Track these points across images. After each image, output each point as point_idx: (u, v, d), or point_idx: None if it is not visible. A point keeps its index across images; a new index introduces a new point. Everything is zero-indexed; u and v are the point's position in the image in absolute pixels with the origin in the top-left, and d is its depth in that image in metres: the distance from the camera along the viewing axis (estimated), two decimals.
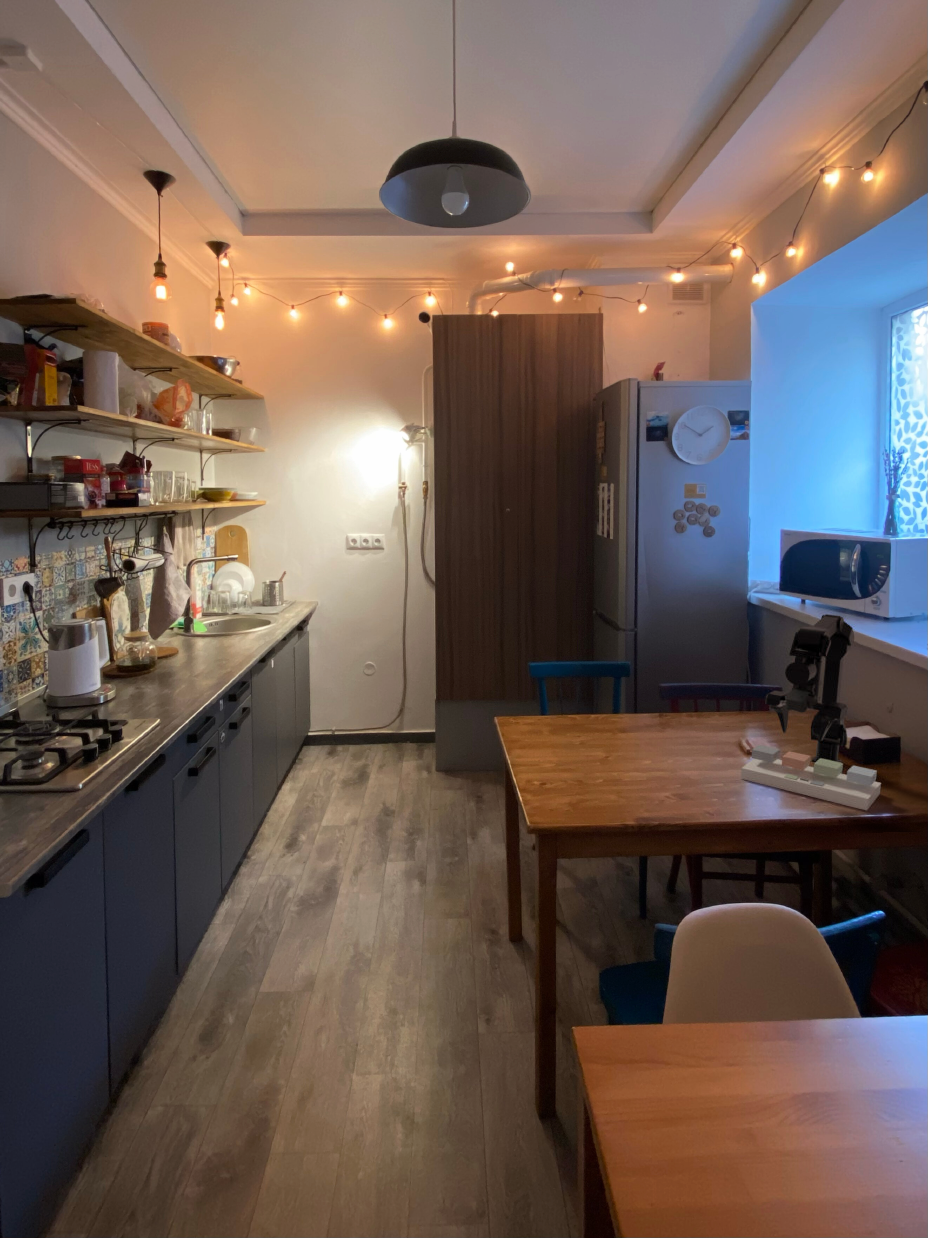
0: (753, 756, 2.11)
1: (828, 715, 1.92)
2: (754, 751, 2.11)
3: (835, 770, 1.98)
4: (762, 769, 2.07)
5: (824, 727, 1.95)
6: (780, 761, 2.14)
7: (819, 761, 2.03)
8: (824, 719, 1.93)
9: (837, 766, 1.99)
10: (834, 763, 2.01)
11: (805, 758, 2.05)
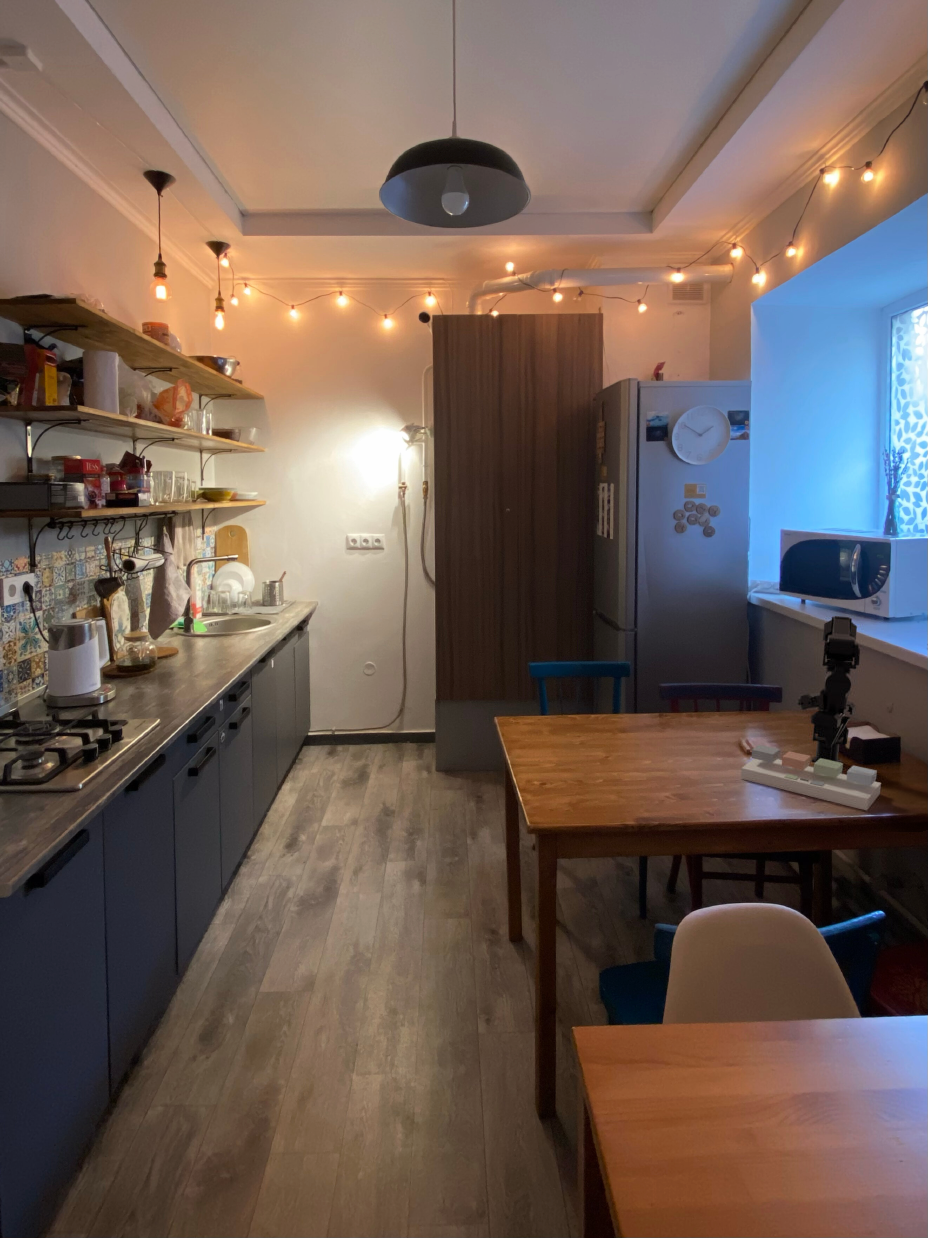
0: (753, 756, 2.11)
1: None
2: (754, 751, 2.11)
3: (835, 770, 1.98)
4: (762, 769, 2.07)
5: None
6: (780, 761, 2.14)
7: (819, 761, 2.03)
8: None
9: (837, 766, 1.99)
10: (834, 763, 2.01)
11: (805, 758, 2.05)
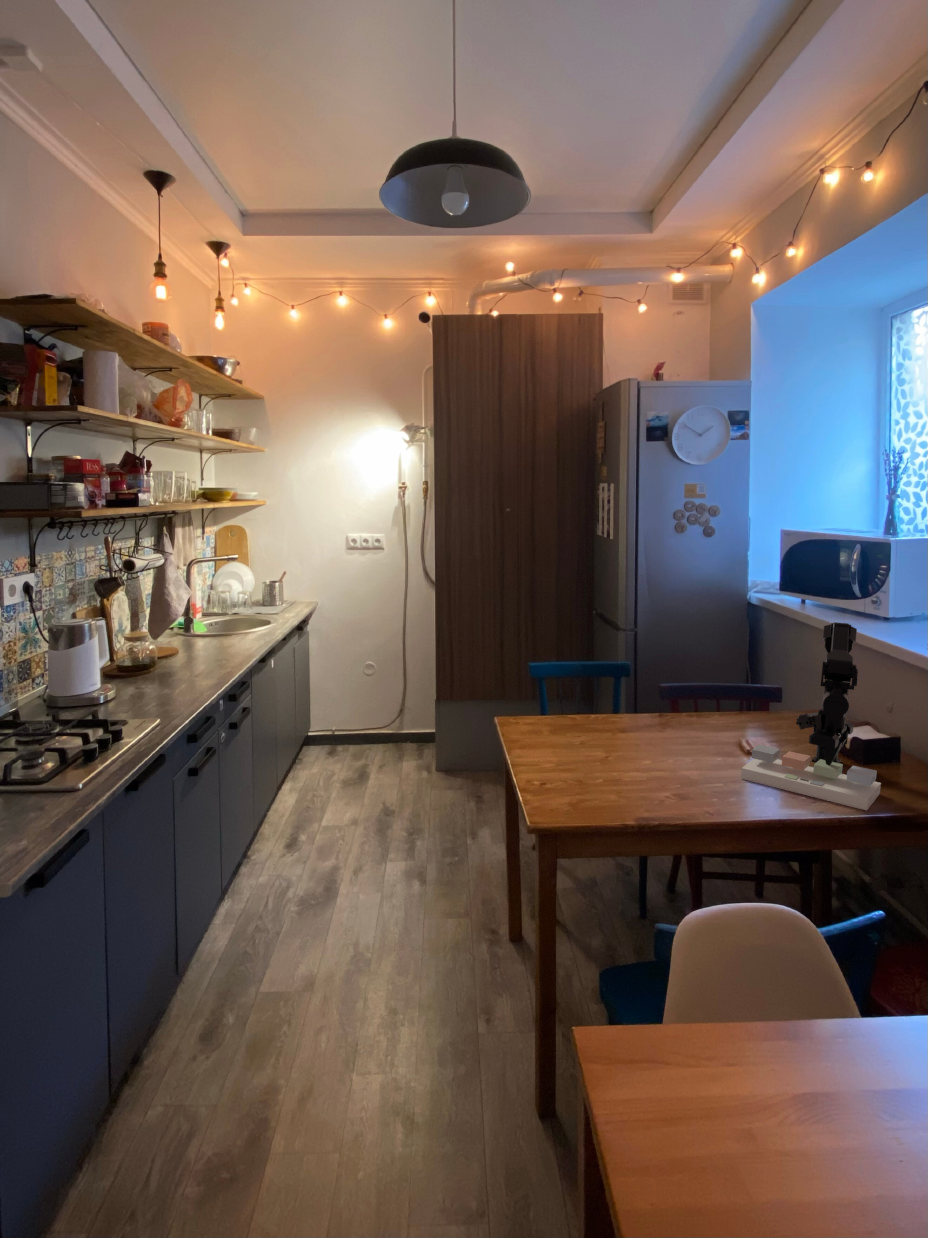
0: (753, 756, 2.11)
1: None
2: (754, 751, 2.11)
3: (835, 771, 1.98)
4: (762, 769, 2.07)
5: None
6: (780, 761, 2.14)
7: (819, 762, 2.03)
8: None
9: (837, 767, 1.99)
10: (834, 764, 2.01)
11: (805, 758, 2.05)
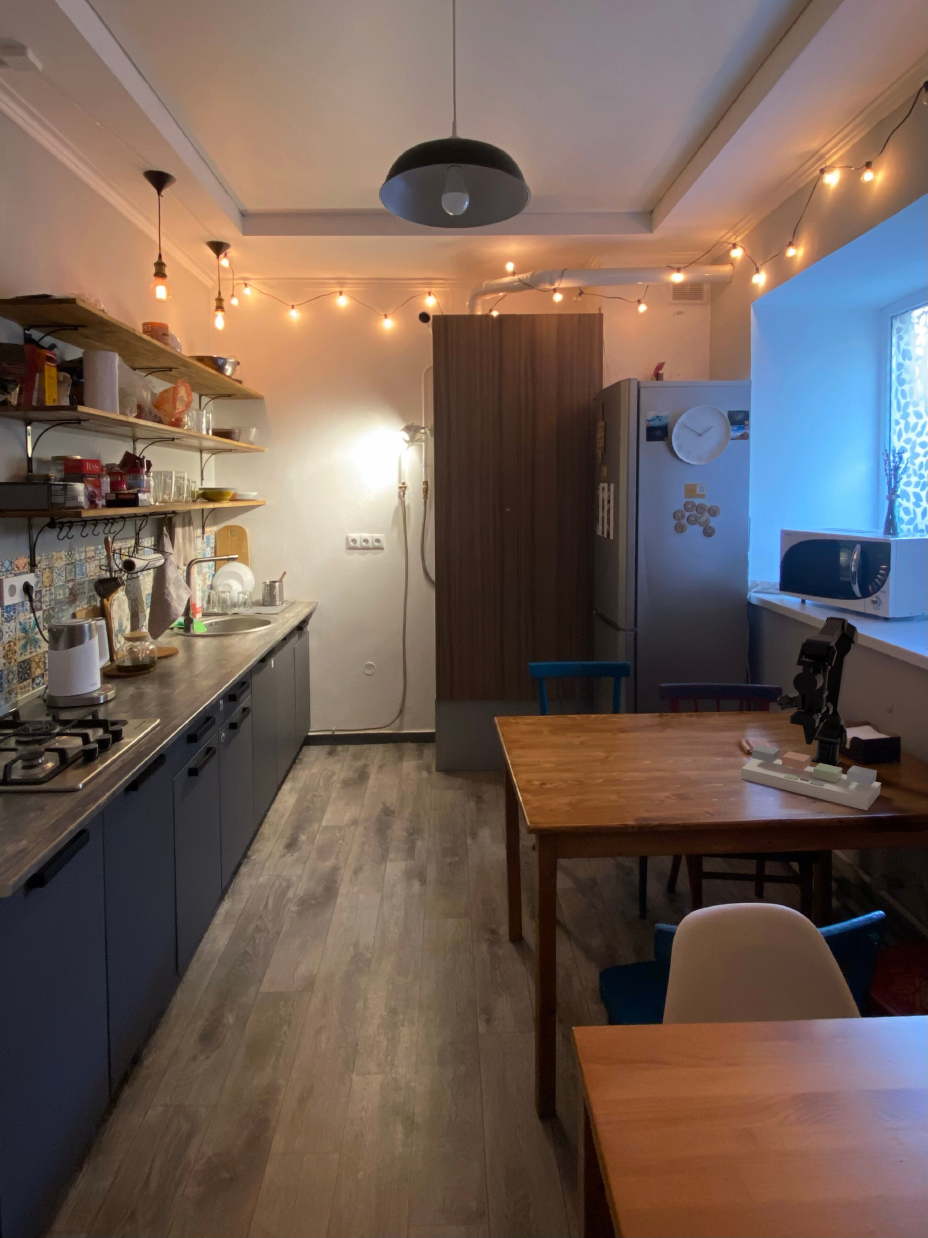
0: (753, 756, 2.11)
1: None
2: (754, 751, 2.11)
3: (834, 775, 1.98)
4: (762, 769, 2.07)
5: None
6: (780, 761, 2.14)
7: (819, 766, 2.03)
8: None
9: (836, 771, 1.99)
10: (833, 768, 2.02)
11: (805, 758, 2.05)
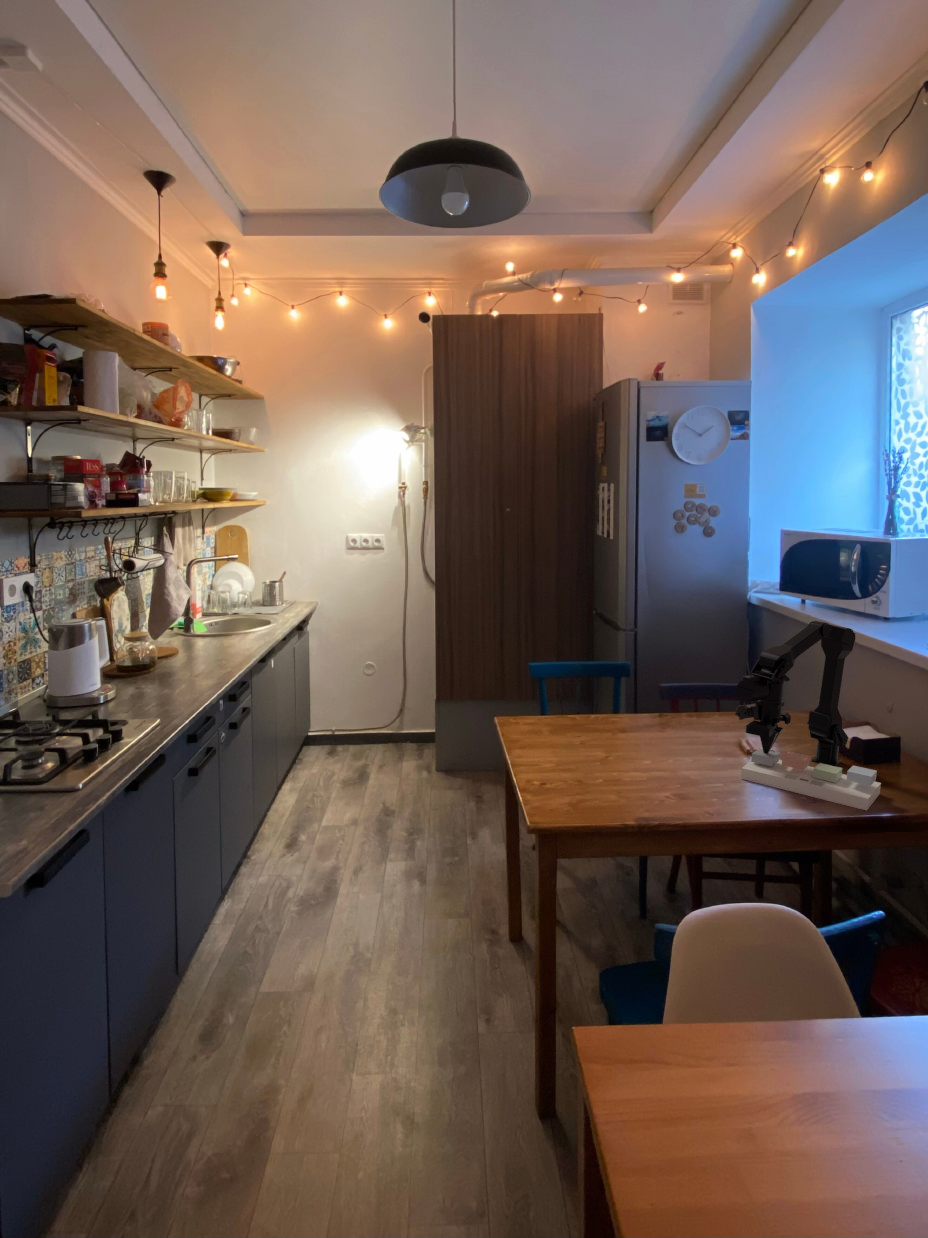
0: (753, 760, 2.11)
1: None
2: (754, 755, 2.11)
3: (834, 775, 1.98)
4: (762, 769, 2.07)
5: None
6: (780, 761, 2.14)
7: (819, 766, 2.03)
8: None
9: (836, 771, 1.99)
10: (833, 768, 2.02)
11: (805, 758, 2.05)
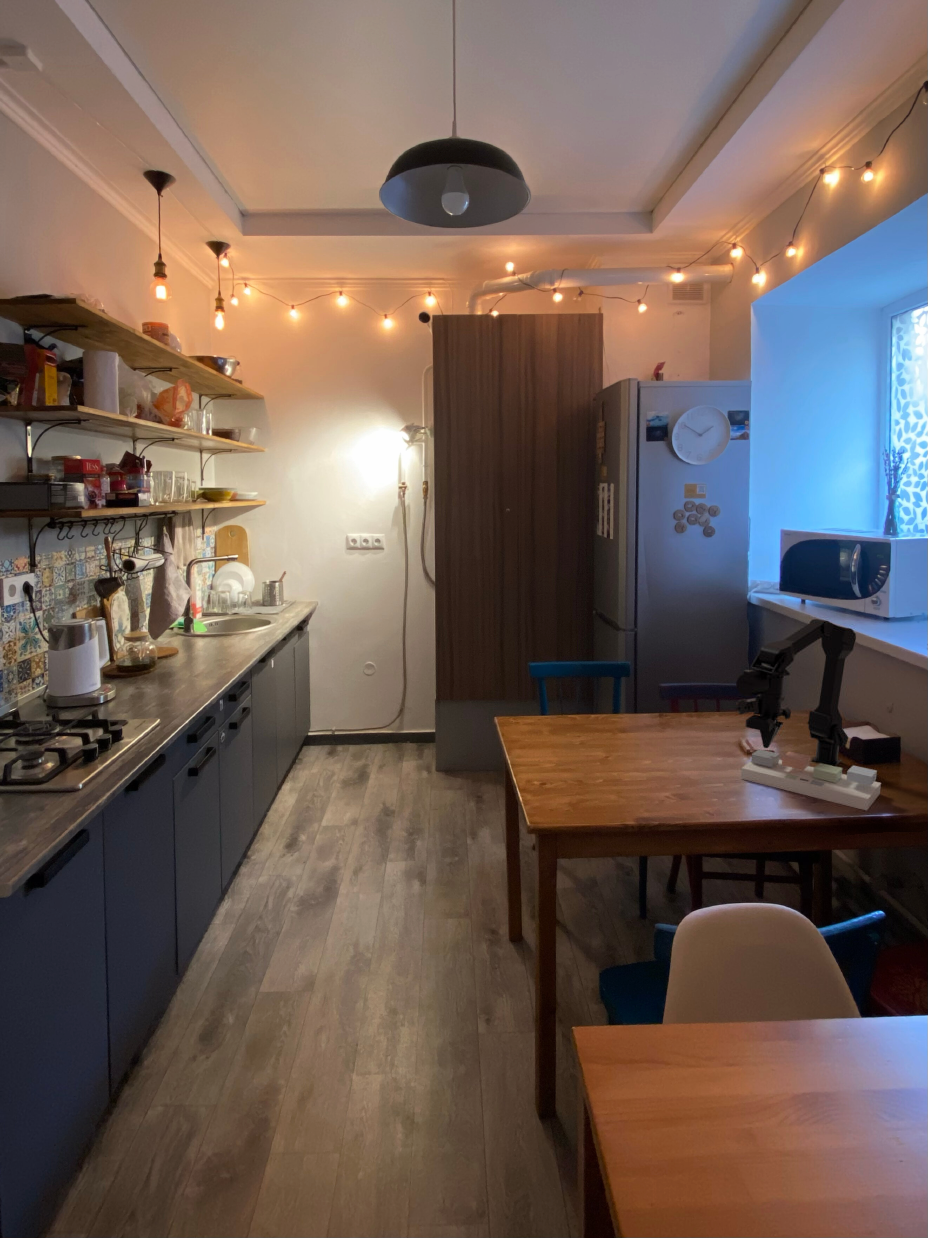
0: (753, 761, 2.11)
1: None
2: (754, 756, 2.11)
3: (834, 775, 1.98)
4: (762, 769, 2.07)
5: None
6: (780, 761, 2.14)
7: (819, 766, 2.03)
8: None
9: (836, 771, 1.99)
10: (833, 768, 2.02)
11: (805, 758, 2.05)
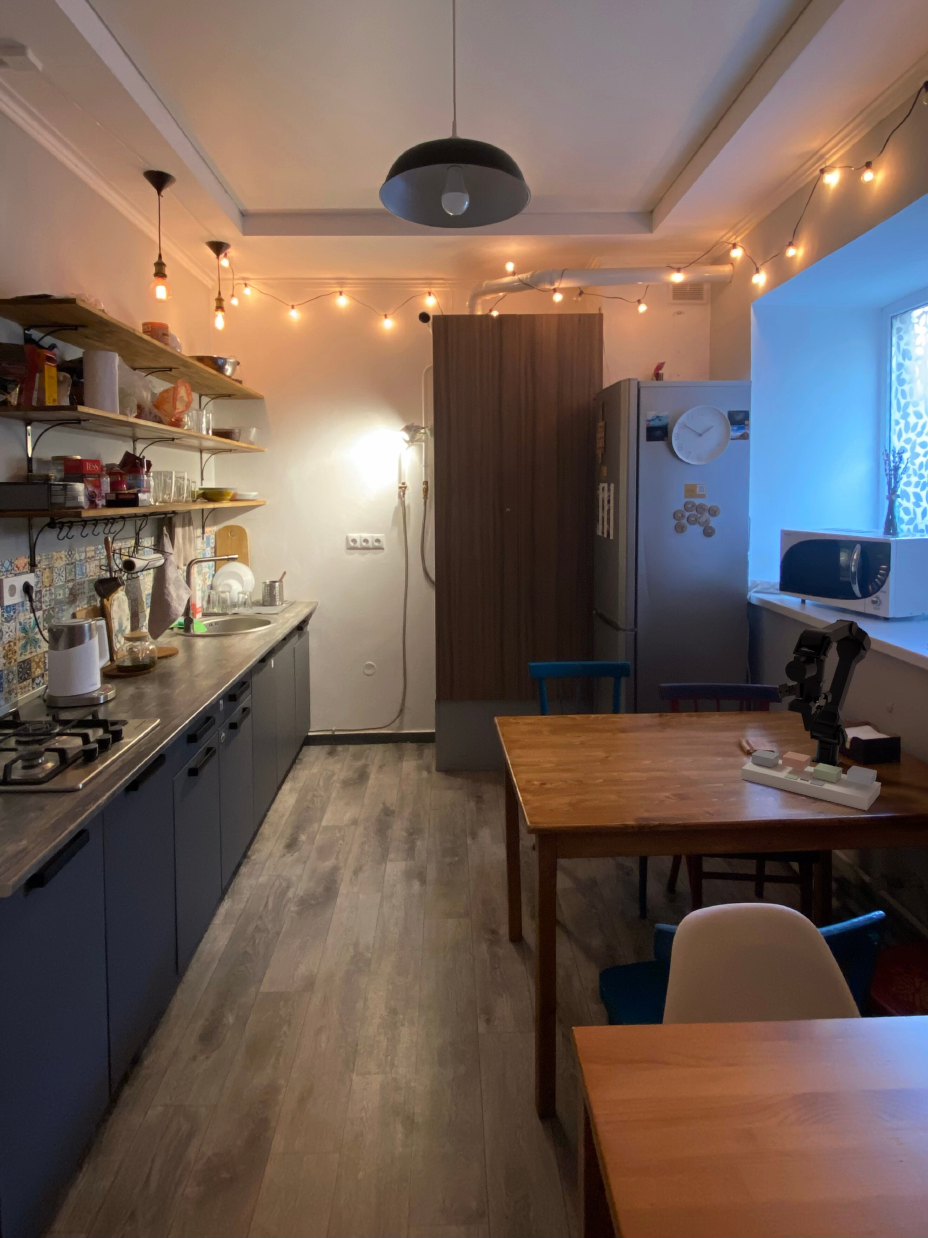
0: (753, 761, 2.11)
1: None
2: (754, 756, 2.11)
3: (834, 775, 1.98)
4: (762, 769, 2.07)
5: None
6: (780, 761, 2.14)
7: (819, 766, 2.03)
8: None
9: (836, 771, 1.99)
10: (833, 768, 2.02)
11: (805, 758, 2.05)
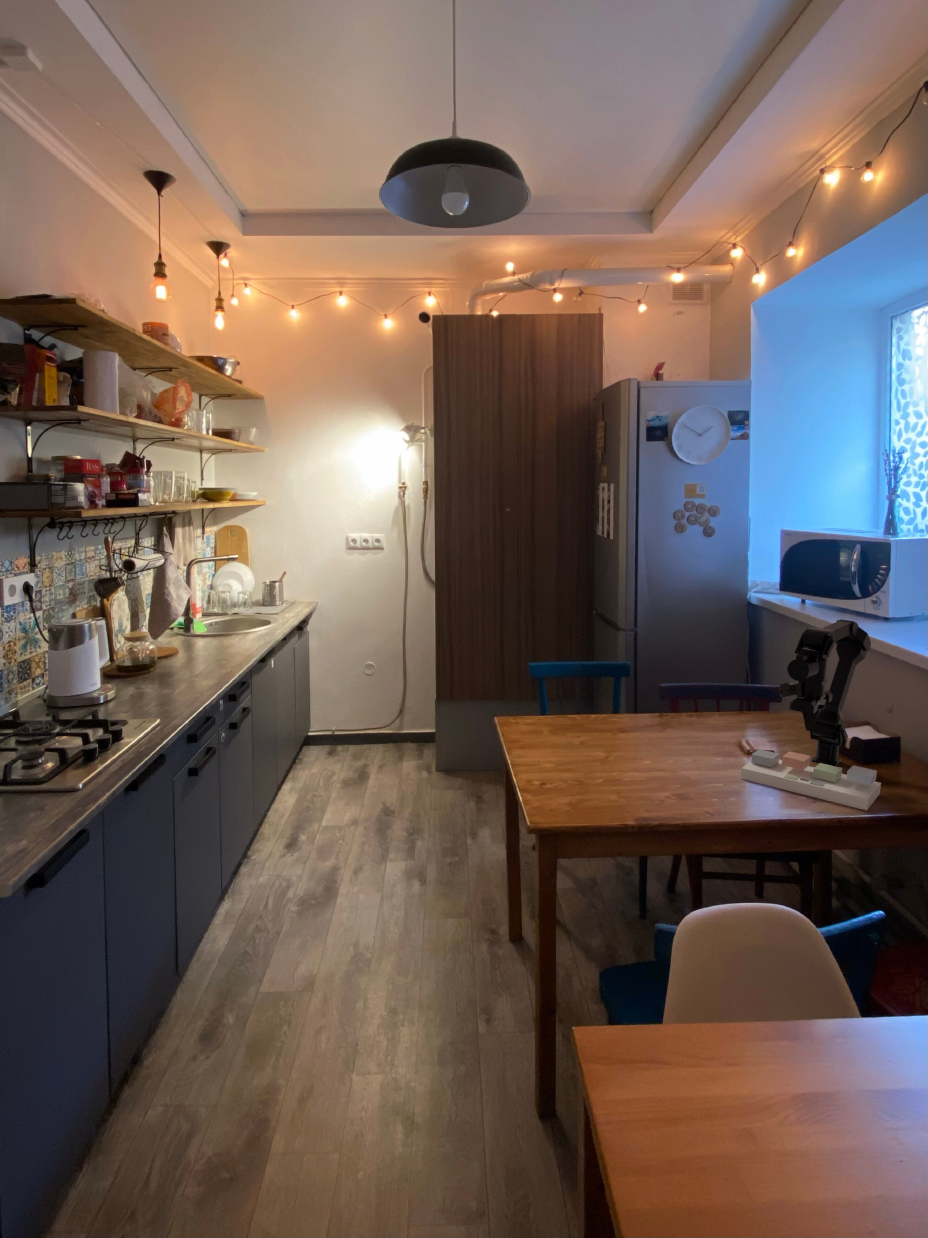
0: (753, 761, 2.11)
1: None
2: (754, 756, 2.11)
3: (834, 775, 1.98)
4: (762, 769, 2.07)
5: None
6: (780, 761, 2.14)
7: (819, 766, 2.03)
8: None
9: (836, 771, 1.99)
10: (833, 768, 2.02)
11: (805, 758, 2.05)
